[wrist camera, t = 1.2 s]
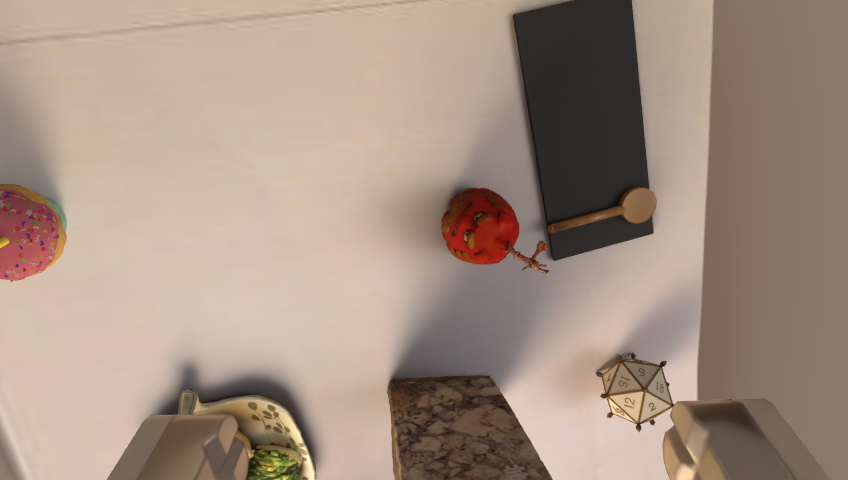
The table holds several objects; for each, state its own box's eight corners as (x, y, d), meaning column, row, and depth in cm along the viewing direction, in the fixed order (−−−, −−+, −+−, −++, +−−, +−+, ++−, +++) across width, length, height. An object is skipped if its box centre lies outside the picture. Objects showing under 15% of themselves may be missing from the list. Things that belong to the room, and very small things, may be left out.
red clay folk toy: (458, 174, 52) (499, 203, 37) (516, 200, 53) (576, 237, 39) (428, 239, 53) (457, 291, 39) (485, 262, 55) (532, 320, 41)
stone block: (495, 363, 59) (565, 490, 40) (495, 413, 61) (561, 558, 42) (384, 374, 57) (400, 512, 38) (387, 426, 59) (404, 582, 40)
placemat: (512, 15, 48) (514, 14, 48) (627, -12, 49) (630, -14, 48) (552, 259, 56) (554, 261, 55) (651, 232, 57) (653, 233, 56)
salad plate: (115, 401, 53) (94, 428, 49) (279, 356, 54) (273, 379, 50) (182, 535, 59) (168, 570, 55) (328, 492, 60) (326, 523, 56)
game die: (617, 351, 65) (700, 382, 58) (593, 412, 63) (674, 451, 57) (597, 330, 59) (688, 363, 52) (569, 398, 57) (659, 440, 50)
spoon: (548, 245, 55) (552, 247, 54) (543, 211, 54) (546, 213, 53) (653, 216, 56) (659, 218, 55) (650, 182, 54) (656, 184, 54)
